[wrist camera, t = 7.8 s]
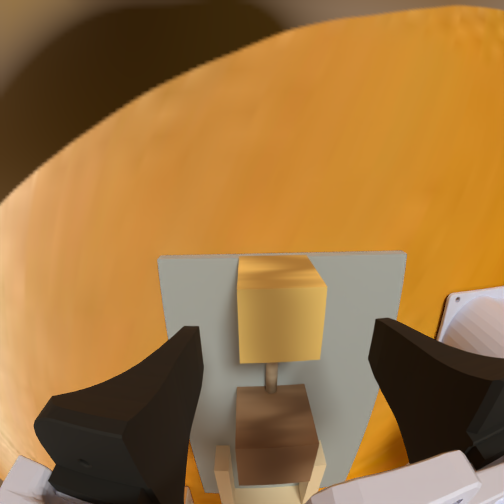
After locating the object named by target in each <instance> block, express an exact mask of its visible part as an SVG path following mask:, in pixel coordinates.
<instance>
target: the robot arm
mask: <svg viewBox="0 0 504 504" xmlns="http://www.w3.org/2000/svg"><path fill="white" fill-rule="evenodd" d="M456 298H457V300H456ZM455 300H456V301H455ZM368 361H369V364H370V367H371V370H372V372H373V375H374V378H375V380H376V382H377V383H378V385H379V387H380V389H381V391H382V393H383V395H384V397H385V399H386V400H387V402H388V404H389V406H390V408H391V410H392V412H393V414H394V416H395V418H396V420H397V423H398V426H399V429H400V431H401V434H402V437H403V441H404V444H405V447H406V451H407V454H408V458H409V463H410V464H409V465H406V466H403V467H399V468H396V469H392V470H388V471H385V472H381V473H377V474H373V475H368V476H364V477H359V478H354V479H351V480H348V481H344V482H341V483H337V484H334V485H331V486H329V487H327V488H325V489H323V490H321V491H319V492H317V493H315V494H313V495H312V496H311V497H310V499H309V500H308V501H307V502H306V503H305V504H504V286H500V287H494V288H487V289H480V290H472V291H465V292H457V293H451V294H450V295H449V296H448V297H447V300H446V305H445V309H444V313H443V317H442V321H441V325H440V328H439V332H438V336H437V339H436V340H435V339H433V338H430V337H428V336H426V335H424V334H422V333H420V332H418V331H416V330H414V329H412V328H410V327H408V326H406V325H404V324H402V323H400V322H398V321H396V320H394V319H391V318H378V319H375V325H374V330H373V335H372V341H371V346H370V350H369V355H368ZM203 372H204V363H203V355H202V347H201V338H200V329H199V326H183V327H182V328H181V329H180V330H179V331H178V332H177V333H176V334H175V335H173V336H172V337H171V338H170V339H169V340H168V341H167V342H166V343H164V344H163V345H162V346H161V347H160V348H159V349H157V350H156V351H155V352H154V353H152V354H151V355H150V356H148V357H147V358H146V359H144V360H143V361H142V362H140V363H139V364H137V365H136V366H134V367H132V368H131V369H129V370H127V371H125V372H124V373H122V374H120V375H118V376H116V377H113V378H111V379H109V380H107V381H105V382H102V383H100V384H97V385H94V386H92V387H89V388H85V389H82V390H79V391H75V392H70V393H66V394H61V395H56V396H52V397H51V398H50V400H49V401H48V403H47V404H46V405H45V407H44V408H43V410H42V411H41V413H40V414H39V416H38V417H37V418H36V420H35V422H34V430H35V433H36V436H37V437H38V439H39V441H40V443H41V444H42V446H43V447H44V448H45V450H46V451H47V453H48V454H49V455H50V457H51V458H52V460H53V461H54V462H55V464H56V466H55V468H54V470H53V471H52V470H50V469H49V468H48V467H46V466H44V465H42V464H40V463H38V462H35V461H33V460H31V459H28V458H26V457H24V456H21V455H19V457H18V458H17V460H16V462H15V463H14V465H13V467H12V468H11V470H10V472H9V473H8V475H7V477H6V479H5V480H4V482H3V484H2V486H1V488H0V504H184V491H185V476H186V464H187V454H188V446H189V438H190V432H191V428H192V424H193V420H194V416H195V412H196V408H197V404H198V400H199V396H200V392H201V388H202V381H203Z"/></svg>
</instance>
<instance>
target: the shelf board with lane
mask: <svg viewBox="0 0 504 504" xmlns="http://www.w3.org/2000/svg"><path fill="white" fill-rule="evenodd" d="M275 255H307V257H308V258H309V260H310V261H311V263H312V264H313V266H314V267H315V269H316V270H317V272H318V273H319V275H320V276H321V278H322V279H323V281H324V282H325V284H326V285H327V298H326V309H325V320H324V329H323V339H322V347H321V355H320V360H307V361H292V362H278V377H277V385H293V384H305V388H306V392H307V396H308V400H309V404H310V408H311V412H312V416H313V420H314V424H315V428H316V432H317V436H318V440H319V448H318V452H317V456H316V460H315V464H314V468H313V471H312V475H311V479H310V481H308V482H299V483H288V484H275V485H249V486H239V481H238V472H237V462H236V452H235V436H236V398H237V387H247V386H266V363H240V354H239V331H238V305H237V281H238V265H239V256H275ZM406 258H407V254H406V253H405V252H403V251H361V252H315V253H267V254H217V255H166V256H160V257H159V258H158V259H157V261H158V270H159V278H160V286H161V294H162V301H163V308H164V315H165V322H166V328H167V334H168V340H169V339H170V338H171V337H172V336H173V335H175V334H176V333H177V332H178V331H179V330H180V329H181V328H182V327H183V326H199V329H200V338H201V347H202V355H203V363H204V372H203V381H202V388H201V392H200V396H199V400H198V404H197V408H196V412H195V416H194V420H193V424H192V428H191V432H190V438H189V439H190V442H191V446H192V450H193V454H194V457H195V461H196V464H197V468H198V471H199V475H200V478H201V481H202V484H203V488H204V491H205V493H219V494H220V498H221V503H222V504H305V503H306V502H307V501H308V500H309V499H310V497H311V496H312V495H313V494H315V493H317V492H318V489H319V488H323V487H329V486H331V485H334V484H337V483H341V482H344V481H345V479H346V477H347V475H348V473H349V470H350V468H351V466H352V463H353V461H354V459H355V456H356V454H357V451H358V449H359V446H360V443H361V441H362V438H363V435H364V433H365V430H366V427H367V424H368V422H369V419H370V416H371V413H372V410H373V407H374V404H375V400H376V397H377V394H378V391H379V385H378V383H377V382H376V380H375V378H374V375H373V372H372V370H371V367H370V364H369V361H368V355H369V350H370V346H371V341H372V335H373V330H374V325H375V319H378V318H391V319H394V320H396V319H397V314H398V309H399V303H400V298H401V292H402V286H403V279H404V273H405V266H406Z"/></svg>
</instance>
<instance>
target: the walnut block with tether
mask: <svg viewBox="0 0 504 504" xmlns="http://www.w3.org/2000/svg"><path fill="white" fill-rule="evenodd" d="M326 298H327V285H326V284H325V282H324V281H323V279H322V278H321V276H320V275H319V273H318V272H317V270H316V269H315V267H314V266H313V264H312V263H311V261H310V260H309V258H308V257H307V255H275V256H239V265H238V281H237V305H238V331H239V354H240V363H266V386H247V387H237V398H236V436H235V452H236V462H237V472H238V481H239V486H249V485H275V484H288V483H299V482H308V481H310V479H311V475H312V471H313V468H314V464H315V460H316V456H317V452H318V448H319V440H318V436H317V432H316V428H315V424H314V420H313V416H312V412H311V408H310V404H309V400H308V396H307V392H306V388H305V384H293V385H277V377H278V362H292V361H307V360H320V355H321V347H322V339H323V329H324V320H325V309H326Z"/></svg>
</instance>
